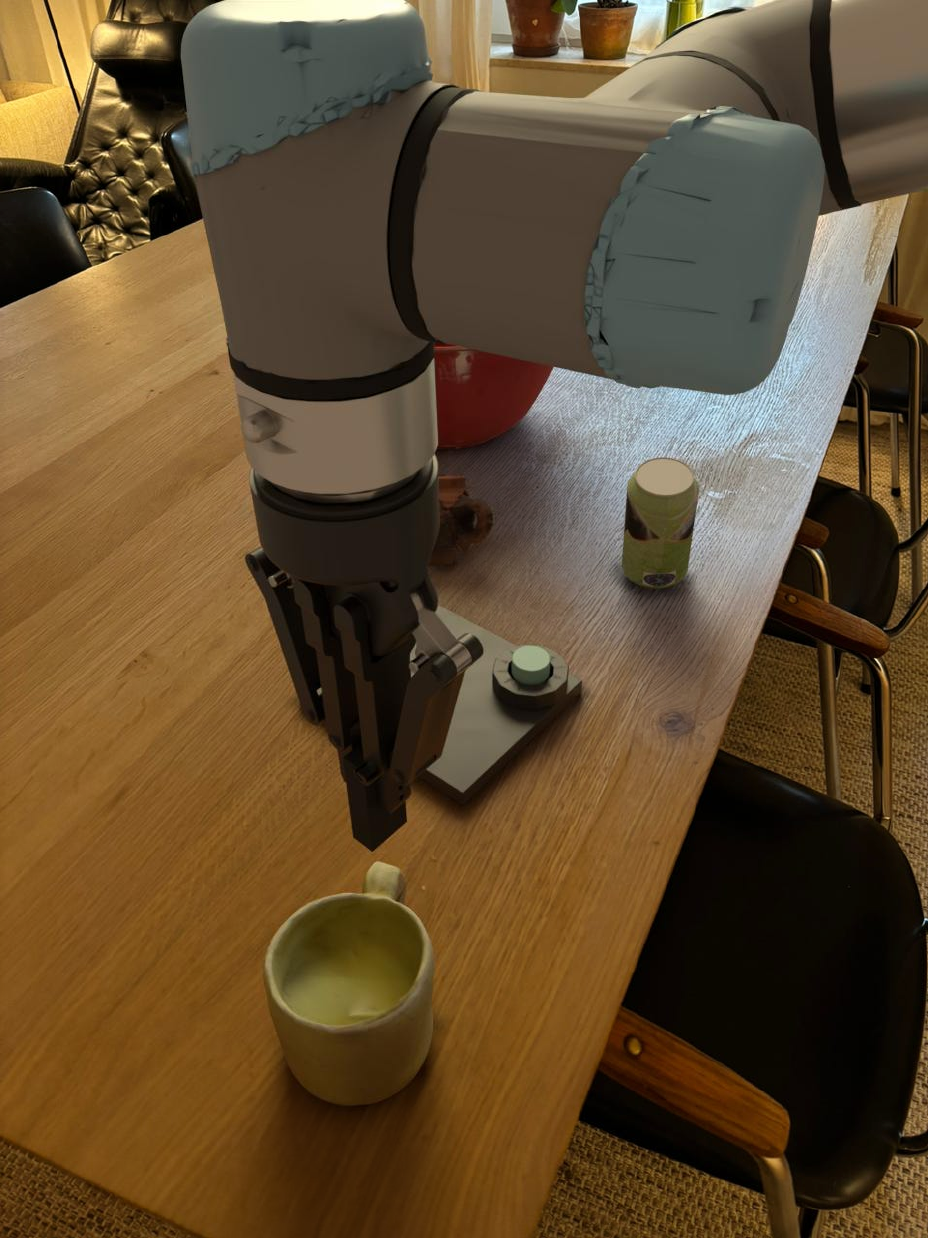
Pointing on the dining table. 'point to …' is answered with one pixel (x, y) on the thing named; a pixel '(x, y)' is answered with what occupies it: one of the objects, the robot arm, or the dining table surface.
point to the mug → (353, 991)
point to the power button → (530, 665)
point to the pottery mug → (459, 520)
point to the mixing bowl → (481, 394)
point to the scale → (493, 712)
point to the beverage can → (659, 522)
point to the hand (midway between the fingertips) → (380, 829)
